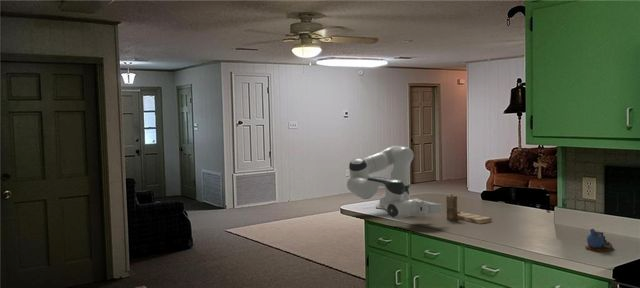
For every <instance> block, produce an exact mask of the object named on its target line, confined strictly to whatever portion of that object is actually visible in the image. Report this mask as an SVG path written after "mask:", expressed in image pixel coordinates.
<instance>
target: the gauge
mask: <svg viewBox="0 0 640 288" xmlns="http://www.w3.org/2000/svg"><path fill="white" fill-rule="evenodd" d="M445 197H446V220H448V221H456V220H458V219H457V214H459V213H461V212H462V211H460V210H458V196H457V195H453V193H451V194H450V195H446V196H445Z"/></svg>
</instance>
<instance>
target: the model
mask: <svg viewBox="0 0 640 288" xmlns="http://www.w3.org/2000/svg"><path fill="white" fill-rule="evenodd" d="M589 232H590V234H589V235H587V237H586V242H587V245H585V250H586V251H590V252H595V253H606V252H611V251H613V250H615V248H614V246H613V244H612V243H611V242H610V241H608V240H607V239H606V236H605V235H604V232H602V231H597V230H595V229H594V228H590V229H589Z"/></svg>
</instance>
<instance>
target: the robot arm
mask: <svg viewBox="0 0 640 288" xmlns="http://www.w3.org/2000/svg"><path fill="white" fill-rule="evenodd" d="M413 159H414V151H413V150H412V149H411V148H409V147H407V146H402V145H391V146H389V147H387V148H385V149H383V150H381V151H379V152H377V153H374V154H371V155H369V156H366V157H364V158H362V157H361V158H359V157H358V158H353V159H352V160H350V162H349V165H348V169H349V176H350V177H349V179H348V180H347V183H346V187H347V190H348V191H350V192H351V194H353V195H354V196H356V197H358V198H360V199H362V200H369V199H372V198H373V197H374V196H375V195H376V194H377V192H378V189H379V187H384V189H385V192H384V194H383V195H382V196H380V198H379V201H378V202H379V204H376V205H375V208H376V209H383V210H385V212H386V213H387V214H388V215H389V217H391V218H394V219H401V218H402V219H403V218H408V217H414V216H429V215H430V214H435V213H439V212H441V211H442V208H443V203H436V202H431V201H430V200H427V201H426V200H422V199H420V198H411V197H410V193H411V191H410V190H411V187H410V182H409V181H410V179H409V174H410V173H409V172H410V168H411V167H410V166H411V164H412V161H413ZM392 165H393V166H392ZM390 166H392V170H391V172H390V178H387V177H386V178H385V177H380V176H370V175H373V174H375V173H378V172H381V171H384V170H386V169H387V168H388V167H390Z"/></svg>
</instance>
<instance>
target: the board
mask: <svg viewBox="0 0 640 288" xmlns="http://www.w3.org/2000/svg"><path fill="white" fill-rule="evenodd" d="M457 220H460V221H465V222H468V223H469V222H470V223H472V224H473V223H475V224H478V225H480V224H487V223H492V220H493V219H492V217H488V216H484V215H478V214H474V213H469V212H465V211H461V213H459V214H457Z"/></svg>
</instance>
